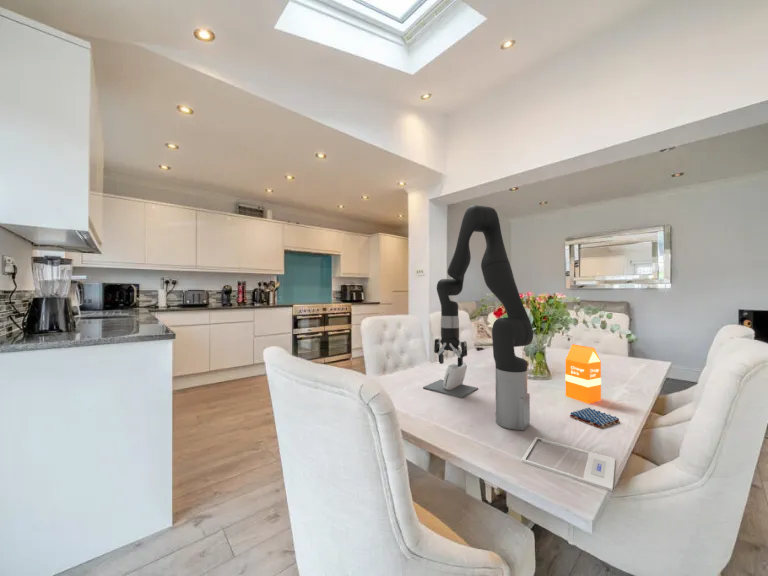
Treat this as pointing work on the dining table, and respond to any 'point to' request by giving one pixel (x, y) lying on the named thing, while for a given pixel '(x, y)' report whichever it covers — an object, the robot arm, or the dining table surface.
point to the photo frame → (596, 468)
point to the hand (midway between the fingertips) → (450, 364)
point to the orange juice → (583, 374)
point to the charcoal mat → (457, 392)
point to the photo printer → (454, 376)
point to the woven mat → (594, 418)
